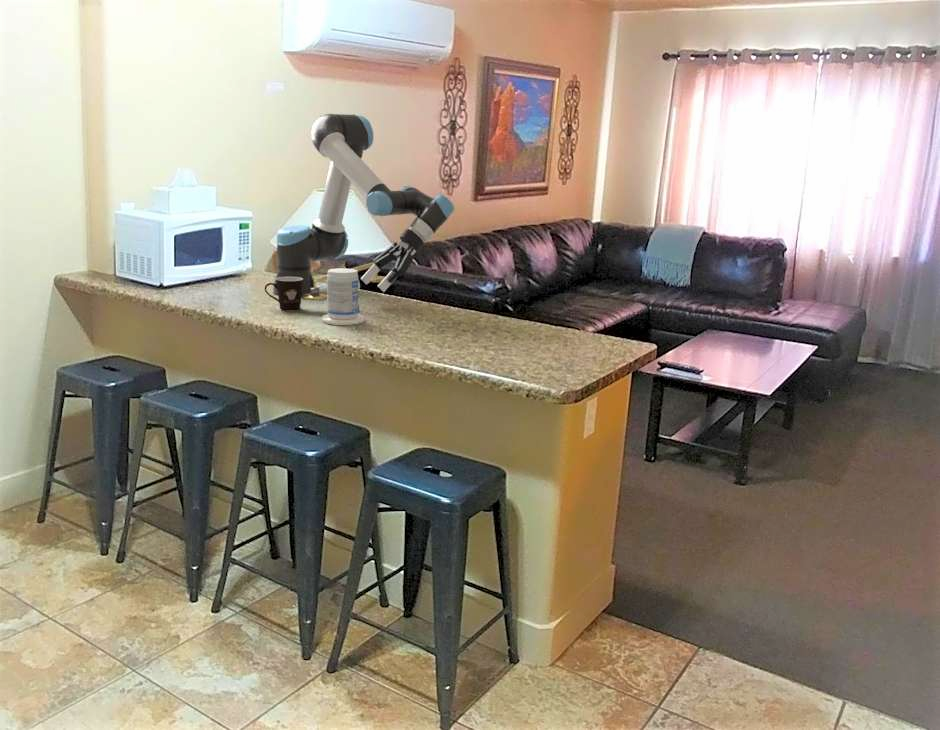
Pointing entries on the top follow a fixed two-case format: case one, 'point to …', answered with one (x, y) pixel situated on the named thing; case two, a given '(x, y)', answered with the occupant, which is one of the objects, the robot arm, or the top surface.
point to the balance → (314, 290)
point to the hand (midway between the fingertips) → (371, 285)
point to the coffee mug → (288, 292)
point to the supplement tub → (342, 293)
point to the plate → (342, 322)
